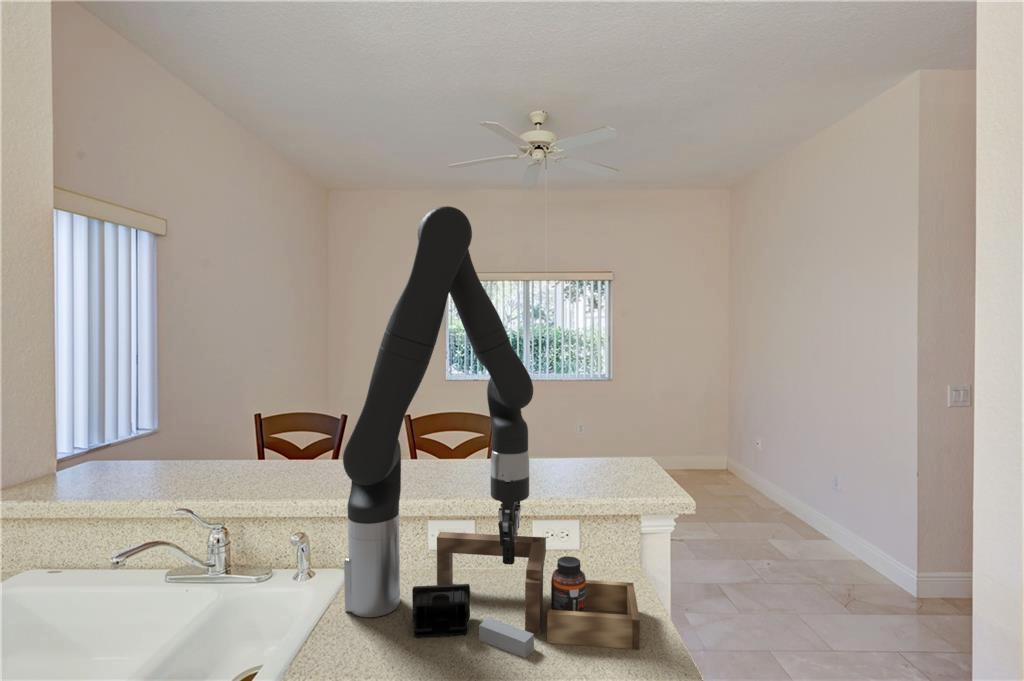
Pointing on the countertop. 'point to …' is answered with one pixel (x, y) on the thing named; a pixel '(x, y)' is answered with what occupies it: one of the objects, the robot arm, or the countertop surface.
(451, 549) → the walnut crook
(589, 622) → the light wood frame
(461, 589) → the black box
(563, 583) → the supplement bottle
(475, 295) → the robot arm
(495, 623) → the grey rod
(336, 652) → the countertop surface
